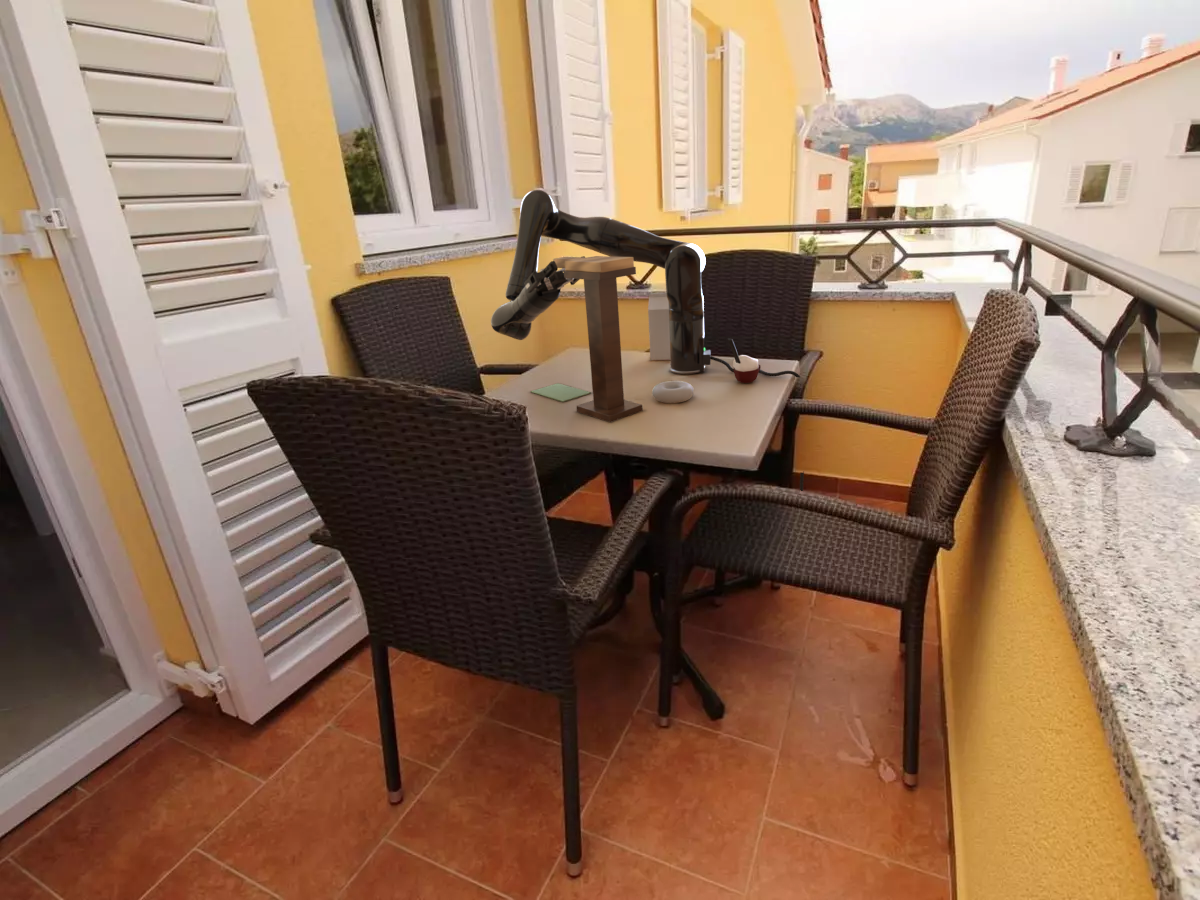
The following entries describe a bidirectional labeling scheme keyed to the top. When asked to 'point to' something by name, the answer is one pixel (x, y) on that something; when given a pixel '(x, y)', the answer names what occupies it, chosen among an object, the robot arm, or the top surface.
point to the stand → (604, 345)
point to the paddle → (594, 263)
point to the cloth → (560, 392)
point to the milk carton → (659, 326)
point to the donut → (672, 391)
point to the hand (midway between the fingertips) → (570, 262)
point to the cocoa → (744, 366)
